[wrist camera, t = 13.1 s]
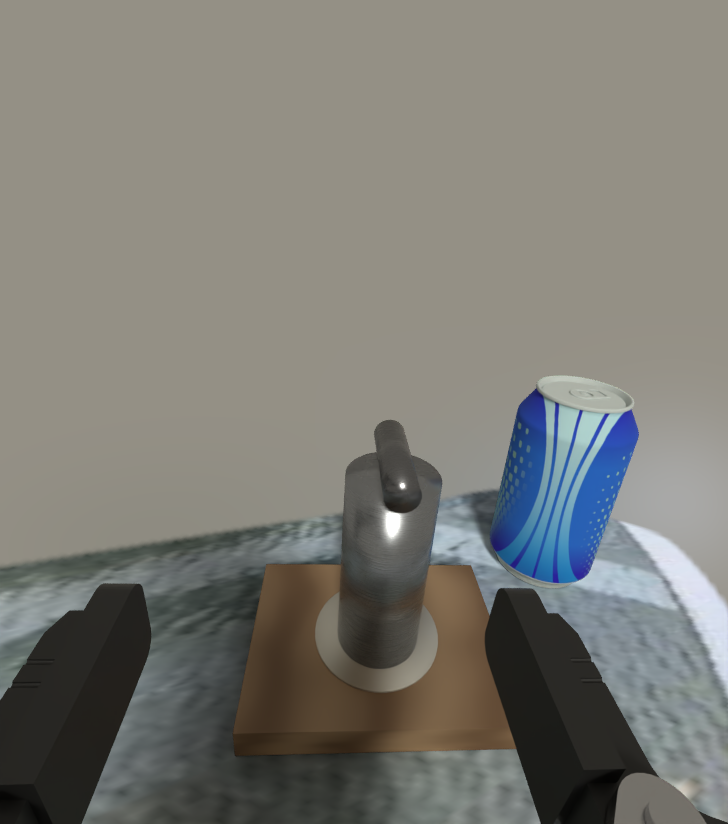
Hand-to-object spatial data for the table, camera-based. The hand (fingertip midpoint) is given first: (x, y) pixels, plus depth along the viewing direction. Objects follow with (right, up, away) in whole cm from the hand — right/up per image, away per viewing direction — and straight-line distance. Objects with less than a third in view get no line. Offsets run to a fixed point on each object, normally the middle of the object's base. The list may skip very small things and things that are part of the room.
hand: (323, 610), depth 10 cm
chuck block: (+2, -12, +20) cm, 23 cm away
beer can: (+16, -9, +29) cm, 34 cm away
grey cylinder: (+2, -10, +19) cm, 21 cm away
